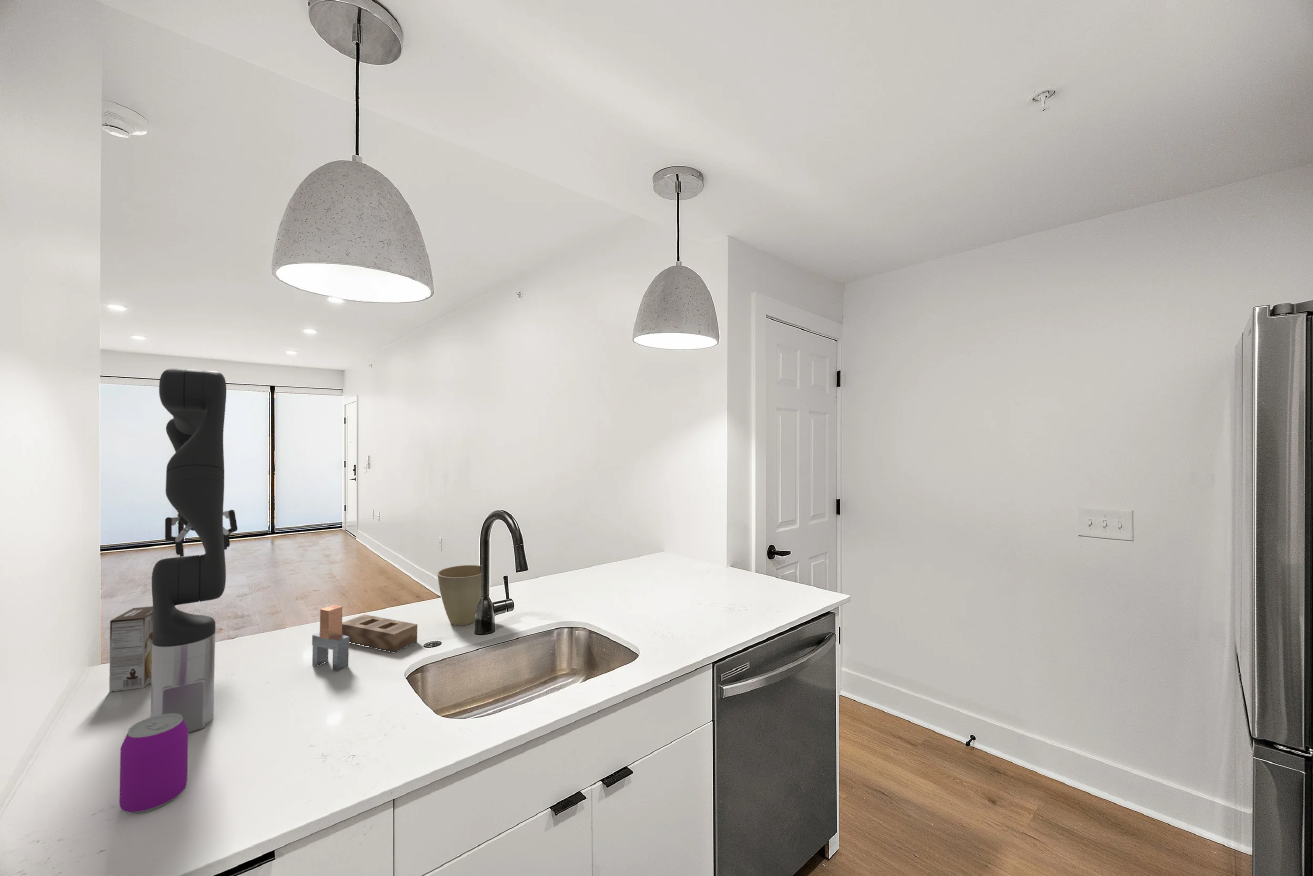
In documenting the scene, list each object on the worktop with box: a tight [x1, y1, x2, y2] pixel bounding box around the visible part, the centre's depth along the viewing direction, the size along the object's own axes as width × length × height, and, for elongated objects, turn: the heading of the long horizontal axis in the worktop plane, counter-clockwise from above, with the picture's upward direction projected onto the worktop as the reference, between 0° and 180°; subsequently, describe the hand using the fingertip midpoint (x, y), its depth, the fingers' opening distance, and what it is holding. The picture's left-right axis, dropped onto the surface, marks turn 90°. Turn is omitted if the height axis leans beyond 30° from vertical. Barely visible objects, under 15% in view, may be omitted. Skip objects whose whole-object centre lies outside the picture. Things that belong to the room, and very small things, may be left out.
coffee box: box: [108, 605, 153, 693], centre depth 119 cm, size 9×6×16 cm
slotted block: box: [341, 614, 418, 653], centre depth 144 cm, size 20×8×5 cm, turn 70°
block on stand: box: [311, 604, 350, 672], centre depth 129 cm, size 9×4×14 cm, turn 70°
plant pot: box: [436, 564, 481, 627], centre depth 161 cm, size 15×15×16 cm
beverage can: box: [118, 713, 189, 815], centre depth 81 cm, size 8×8×12 cm
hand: (204, 553), depth 135 cm, fingers open, 8 cm apart
